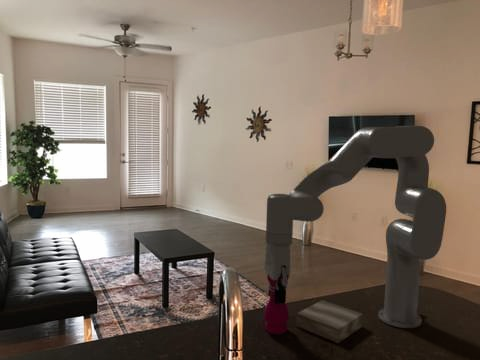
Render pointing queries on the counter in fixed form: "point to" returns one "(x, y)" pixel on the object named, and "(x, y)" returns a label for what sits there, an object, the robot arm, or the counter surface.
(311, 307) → the grey ridged block
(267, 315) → the pepper mill
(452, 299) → the counter surface
